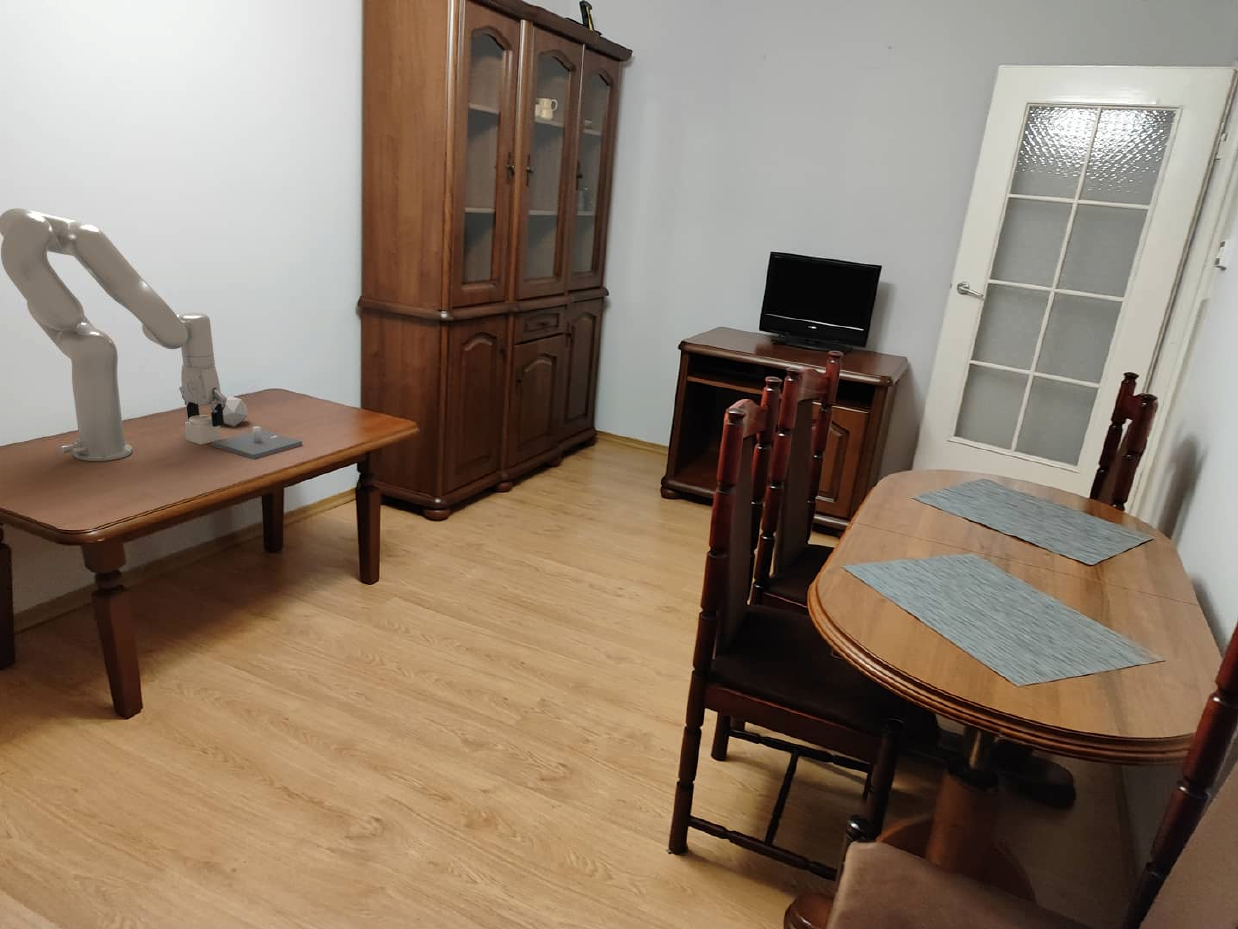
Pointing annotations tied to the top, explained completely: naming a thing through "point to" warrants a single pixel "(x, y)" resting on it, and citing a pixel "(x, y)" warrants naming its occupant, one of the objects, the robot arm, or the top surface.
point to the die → (234, 411)
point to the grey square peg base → (256, 443)
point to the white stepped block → (201, 430)
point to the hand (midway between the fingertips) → (206, 422)
